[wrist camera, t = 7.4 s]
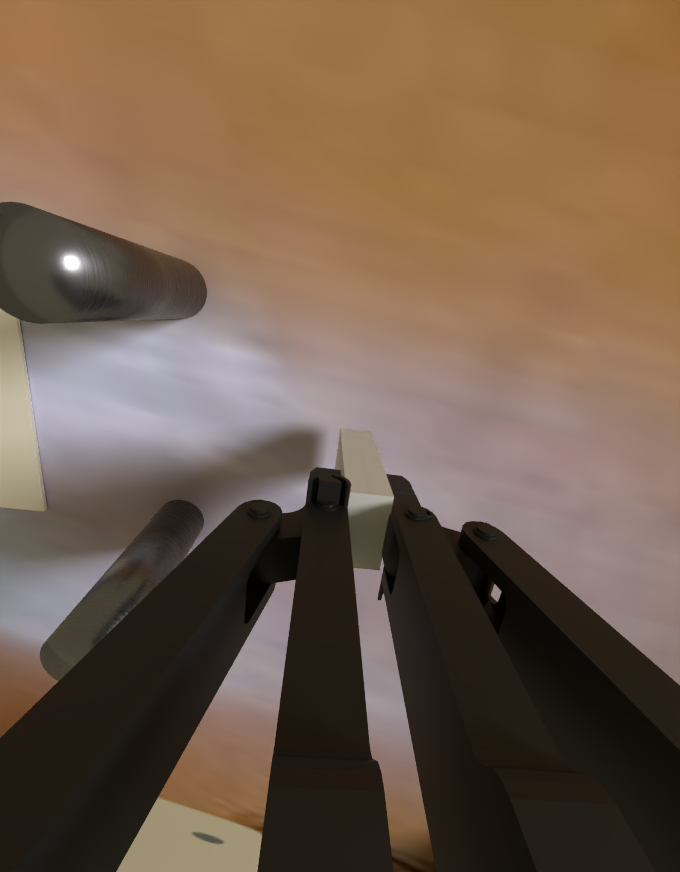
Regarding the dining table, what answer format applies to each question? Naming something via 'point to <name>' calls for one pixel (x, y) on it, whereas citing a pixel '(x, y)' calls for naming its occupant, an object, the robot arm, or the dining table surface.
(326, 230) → the dining table surface
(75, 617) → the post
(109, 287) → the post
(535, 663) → the robot arm
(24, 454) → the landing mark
